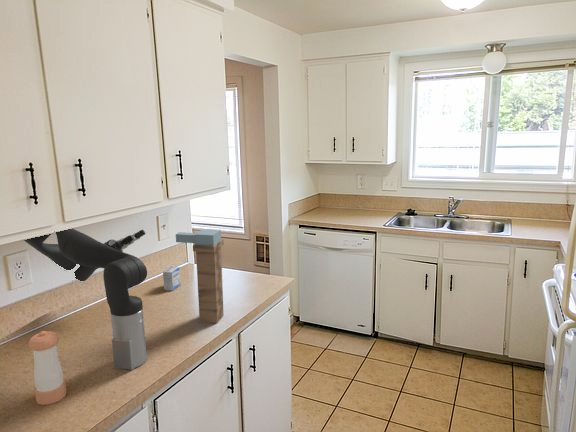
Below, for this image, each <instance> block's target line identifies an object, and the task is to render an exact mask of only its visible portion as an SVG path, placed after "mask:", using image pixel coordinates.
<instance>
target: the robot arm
mask: <svg viewBox="0 0 576 432" xmlns="http://www.w3.org/2000/svg"><path fill="white" fill-rule="evenodd" d="M71 228H72V227H71ZM51 235H52V234H49V235H44V236H40V237H35V238H31V239H27V240H23V241H24V242H25V243H27V244H28V245H30V247H32V248H34V249H35V250H36V251H38V252H39V253H40V254H42V255H43V256H46V257H47V258H48V259H50V260H51V261H52V262H53V261H54V262H55V263H56V264H58V265H59V266H61V267H63V268H64V269H66V270H71V269H73V268H74V267H75V266H76V264H79V265H80V267H79V268H78V269H77V270H76V271H75V272H74V273H75V276H76V277H75V278H76V279H78V280H80V281H84V282H86V281H87V280H88V279H89V278H90V277H91V276H92V275H93V274H94V272H95V271H96V270H98V269H103V273H102V274H103V275H102V276H103V284H104V290H105V297H106V301H107V305H108V307H109V310H110V311H109V312H110V321H111V331H112V339H111V347H112V348H111V349H112V357H113V358H112V359H113V368H115V369H123V370H131V371H132V370H134V369H135V368H138V367H141V366H142V365H144V364H145V363H146V361H147V360H148V356H147V355H148V354H147V345H146V343H147V341H146V331H145V320H144V317H145V316H144V306H143V300H142V298H141V297H139V296H136V295H130V293H129V289H131V288H134V287H137V286H138V285H140V284H141V283H143V282H145V280H146V279H147V277H148V269H147V266H146V265H145V263H144V261H142V260H141V259H140V258H138V257H137V256H135V255H132V254H129V253H126V252H124V251H123V250H124V249H126V248H128V247H129V246H131V245H132V244H134V243H135V242H137V241H138V240H140V239H141V238H142V237H143V236H145V235H146V232H145V230H144V229H141V230H138V231H137V232H134V233H133V234H130V235H126V236H125V237H123V238H120V239H118V240H115V239H108V240H107V241H105V242H104V243H103V242H101V241H98V240H97V239H95V238H93V237H92V236H89V235H88V234H86V233H83V232H81V231H79V230H76V229H75V228H72V229H68V230H64V231H60V232H56V233H55V235H56V240H57V243H45V241H46V240H47V239H48V238H49V237H50V236H51ZM54 262H53V263H54ZM55 263H54V264H55ZM56 264H55V265H56ZM66 270H65V271H66Z"/></svg>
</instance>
